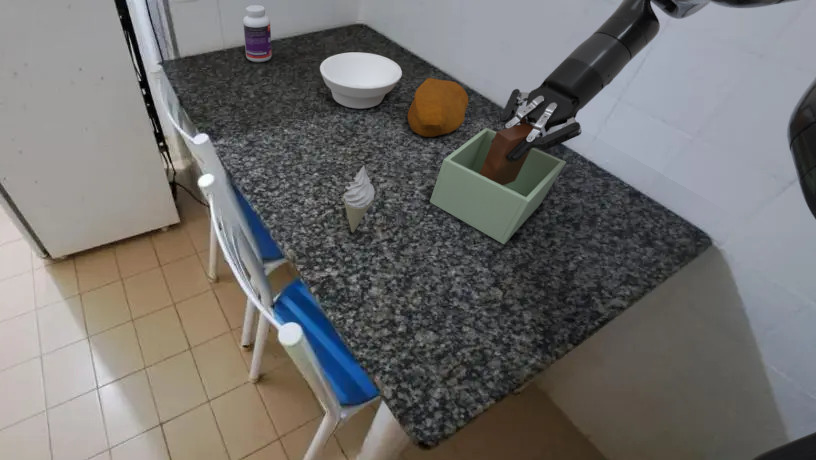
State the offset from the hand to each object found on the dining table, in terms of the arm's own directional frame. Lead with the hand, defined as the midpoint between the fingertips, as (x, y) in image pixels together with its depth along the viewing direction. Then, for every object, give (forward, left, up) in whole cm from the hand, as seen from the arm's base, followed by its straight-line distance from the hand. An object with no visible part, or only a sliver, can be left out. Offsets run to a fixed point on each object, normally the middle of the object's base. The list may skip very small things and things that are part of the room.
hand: (501, 154), depth 68 cm
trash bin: (-1, -2, -12) cm, 12 cm away
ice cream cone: (+12, +23, -12) cm, 29 cm away
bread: (+22, -21, -12) cm, 33 cm away
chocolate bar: (-1, -2, -7) cm, 7 cm away
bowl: (+44, -16, -12) cm, 49 cm away
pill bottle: (+82, -13, -12) cm, 84 cm away
